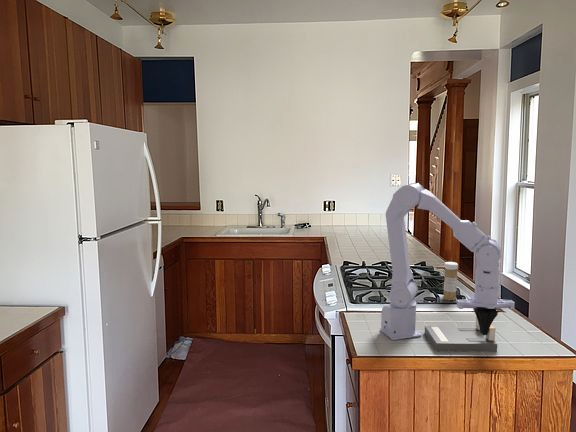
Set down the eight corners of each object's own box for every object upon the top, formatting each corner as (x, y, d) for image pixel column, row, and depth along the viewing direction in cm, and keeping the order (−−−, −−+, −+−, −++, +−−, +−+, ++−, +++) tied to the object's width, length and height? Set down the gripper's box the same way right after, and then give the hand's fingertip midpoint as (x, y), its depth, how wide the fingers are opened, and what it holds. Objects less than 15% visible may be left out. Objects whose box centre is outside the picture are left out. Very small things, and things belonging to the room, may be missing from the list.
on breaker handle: (478, 329, 126) (479, 319, 126) (475, 326, 129) (476, 316, 128) (484, 330, 126) (484, 319, 126) (480, 326, 129) (481, 316, 128)
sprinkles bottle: (446, 296, 164) (447, 260, 162) (458, 298, 161) (460, 262, 159) (440, 299, 161) (442, 263, 159) (453, 302, 157) (455, 265, 156)
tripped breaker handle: (489, 340, 120) (489, 328, 119) (485, 336, 122) (486, 324, 121) (494, 340, 119) (495, 328, 119) (491, 336, 122) (491, 324, 121)
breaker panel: (436, 351, 119) (436, 343, 119) (424, 332, 131) (424, 325, 131) (496, 351, 119) (497, 343, 118) (479, 333, 130) (479, 325, 130)
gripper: (464, 289, 115) (461, 339, 117) (521, 290, 114) (517, 340, 116) (455, 281, 122) (452, 328, 124) (509, 282, 121) (505, 329, 123)
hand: (483, 333), depth 121 cm, fingers closed
